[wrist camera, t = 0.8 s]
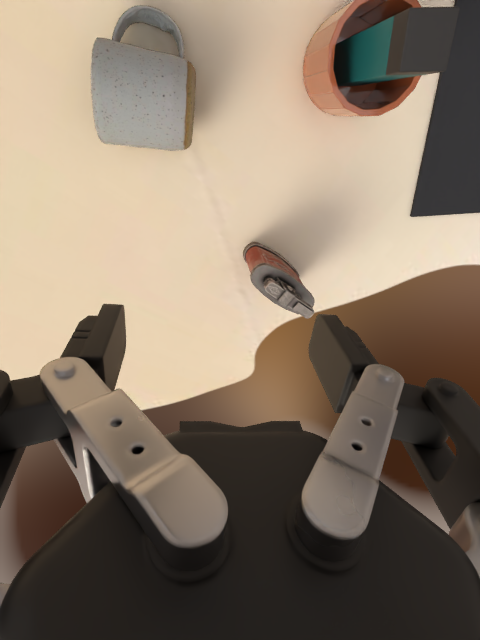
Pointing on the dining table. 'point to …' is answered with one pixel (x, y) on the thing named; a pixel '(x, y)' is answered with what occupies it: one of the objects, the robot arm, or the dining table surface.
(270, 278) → the lighter
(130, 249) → the dining table surface
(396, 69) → the block
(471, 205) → the mat
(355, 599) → the robot arm
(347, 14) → the pen cup
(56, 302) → the dining table surface
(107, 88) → the ceramic mug
